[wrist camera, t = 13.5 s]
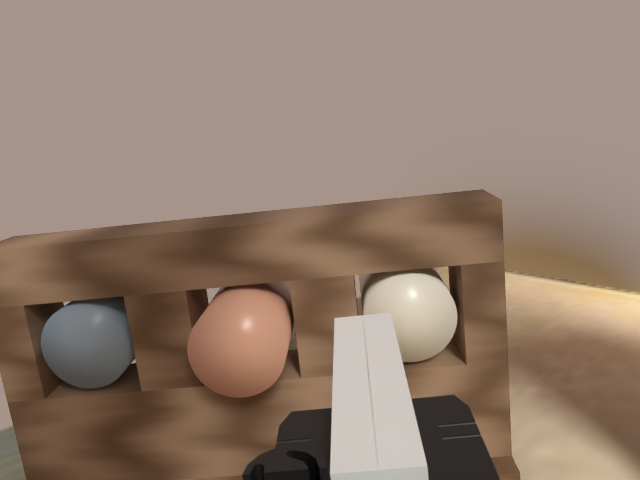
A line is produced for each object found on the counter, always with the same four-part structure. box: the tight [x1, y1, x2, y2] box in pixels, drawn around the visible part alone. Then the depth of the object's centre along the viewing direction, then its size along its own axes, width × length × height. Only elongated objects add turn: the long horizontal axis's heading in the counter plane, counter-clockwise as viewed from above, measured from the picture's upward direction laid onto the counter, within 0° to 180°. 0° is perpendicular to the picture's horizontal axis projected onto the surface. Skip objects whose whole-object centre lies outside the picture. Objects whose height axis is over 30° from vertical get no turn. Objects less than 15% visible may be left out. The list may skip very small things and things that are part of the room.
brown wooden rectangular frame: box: [0, 190, 520, 480], centre depth 33 cm, size 28×7×16 cm, turn 88°
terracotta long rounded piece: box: [187, 281, 294, 398], centre depth 33 cm, size 5×9×5 cm, turn 178°
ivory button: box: [359, 268, 457, 362], centre depth 35 cm, size 5×9×5 cm, turn 178°
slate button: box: [41, 296, 135, 389], centre depth 36 cm, size 5×9×5 cm, turn 178°
